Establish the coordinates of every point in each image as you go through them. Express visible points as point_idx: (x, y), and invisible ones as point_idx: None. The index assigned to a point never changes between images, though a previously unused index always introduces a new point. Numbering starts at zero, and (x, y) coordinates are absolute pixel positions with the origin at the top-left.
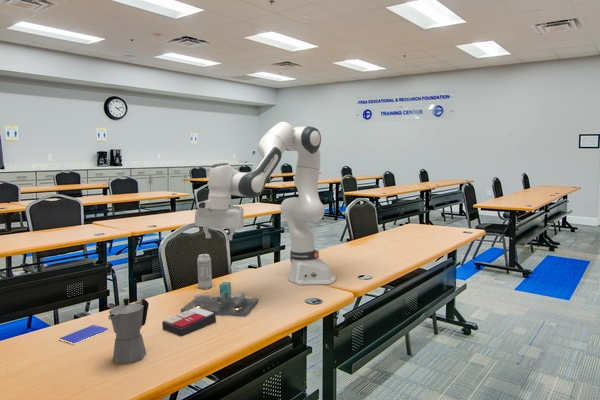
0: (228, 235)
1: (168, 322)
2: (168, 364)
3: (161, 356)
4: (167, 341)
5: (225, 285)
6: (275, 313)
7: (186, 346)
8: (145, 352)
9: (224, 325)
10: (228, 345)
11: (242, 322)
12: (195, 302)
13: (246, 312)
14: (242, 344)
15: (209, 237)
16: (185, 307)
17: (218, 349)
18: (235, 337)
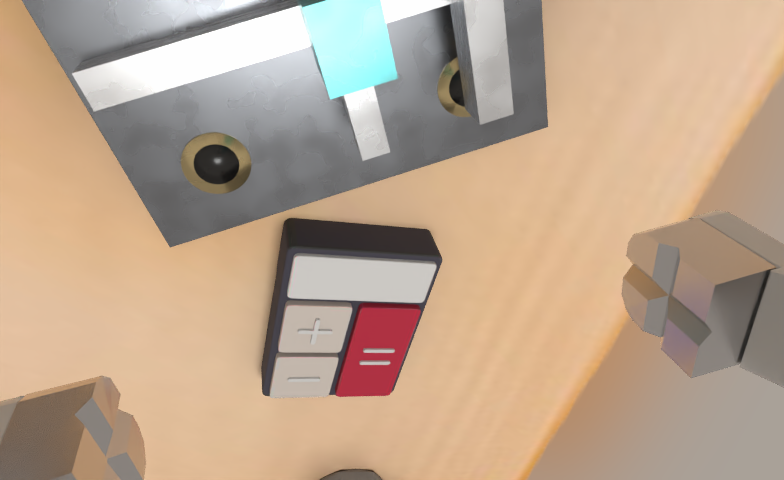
0: (711, 321)
1: (305, 396)
2: (469, 462)
3: (422, 455)
4: (368, 410)
5: (383, 82)
6: (676, 5)
7: (451, 399)
8: (375, 478)
9: (485, 239)
10: (574, 338)
11: (547, 181)
12: (141, 120)
13: (546, 116)
14: (614, 315)
15: (129, 440)
16: (166, 213)
17: (555, 366)
18: (574, 293)
